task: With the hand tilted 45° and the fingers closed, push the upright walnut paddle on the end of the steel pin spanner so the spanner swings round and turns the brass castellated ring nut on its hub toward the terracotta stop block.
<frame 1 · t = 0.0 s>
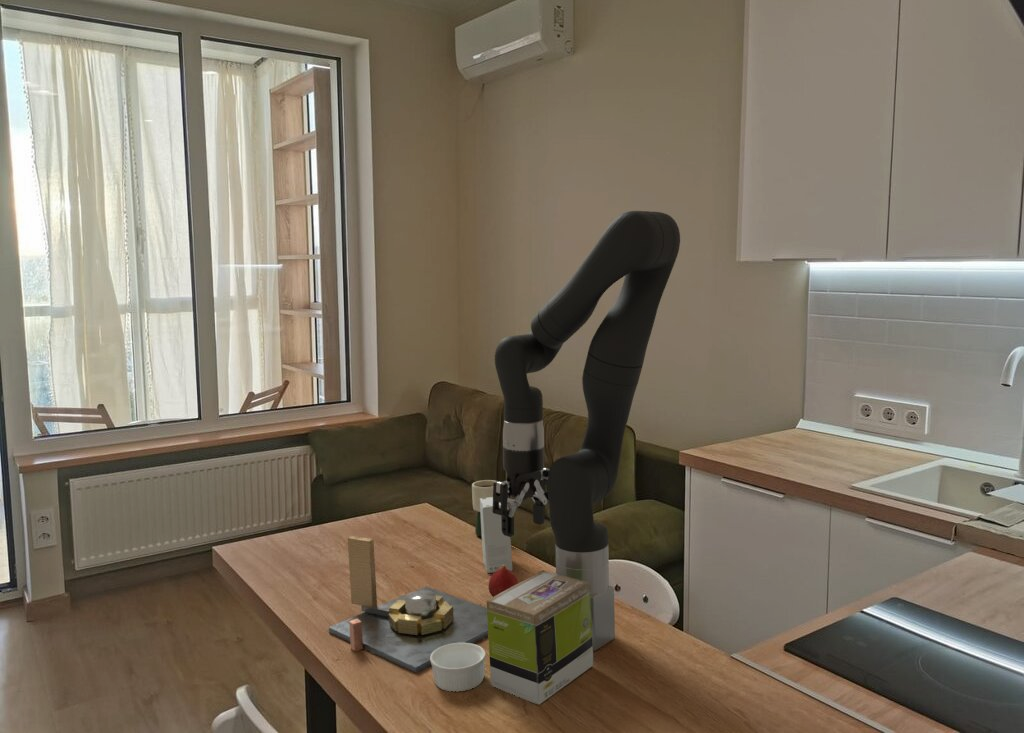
hand: (523, 529, 149), 17 cm above the table, tool pointing down, fingers open, 8 cm apart
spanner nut: (403, 578, 150), point 8 cm above the table, hinge at 0.0°
hub base: (421, 627, 148), on the table
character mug: (488, 535, 199), on the table
ramekin: (459, 681, 129), on the table
onion: (504, 605, 158), on the table
tea box: (542, 678, 129), on the table
skincare box: (496, 566, 178), on the table
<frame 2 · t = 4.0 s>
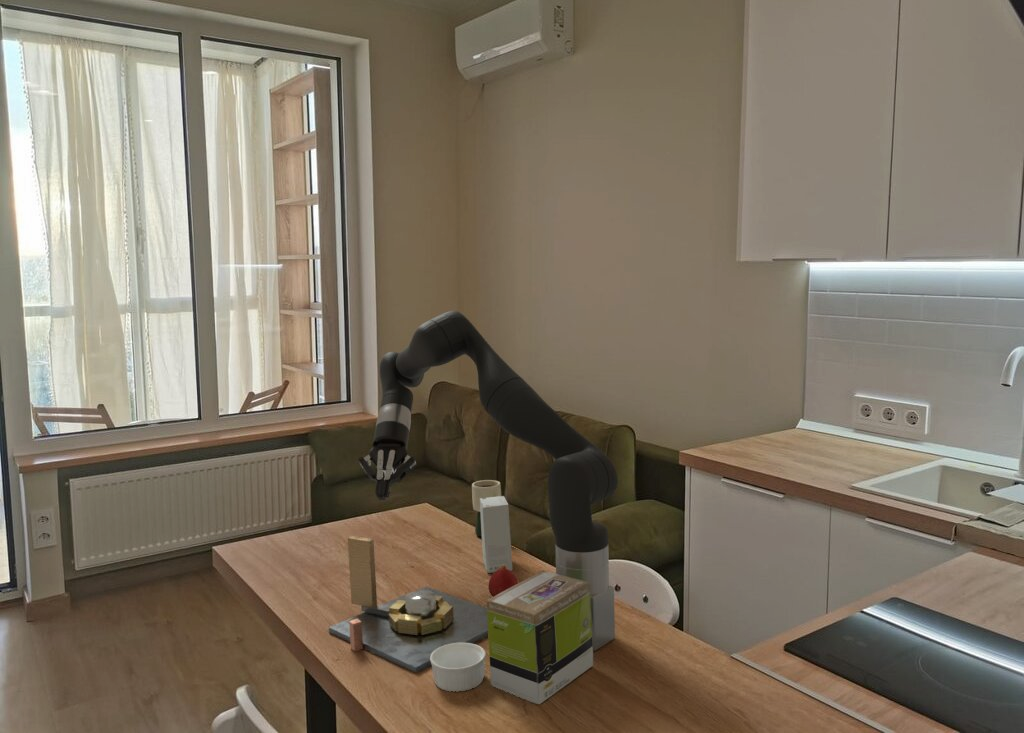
hand: (381, 498, 169), 18 cm above the table, tool tilted 45°, fingers closed
nothing on the table moved.
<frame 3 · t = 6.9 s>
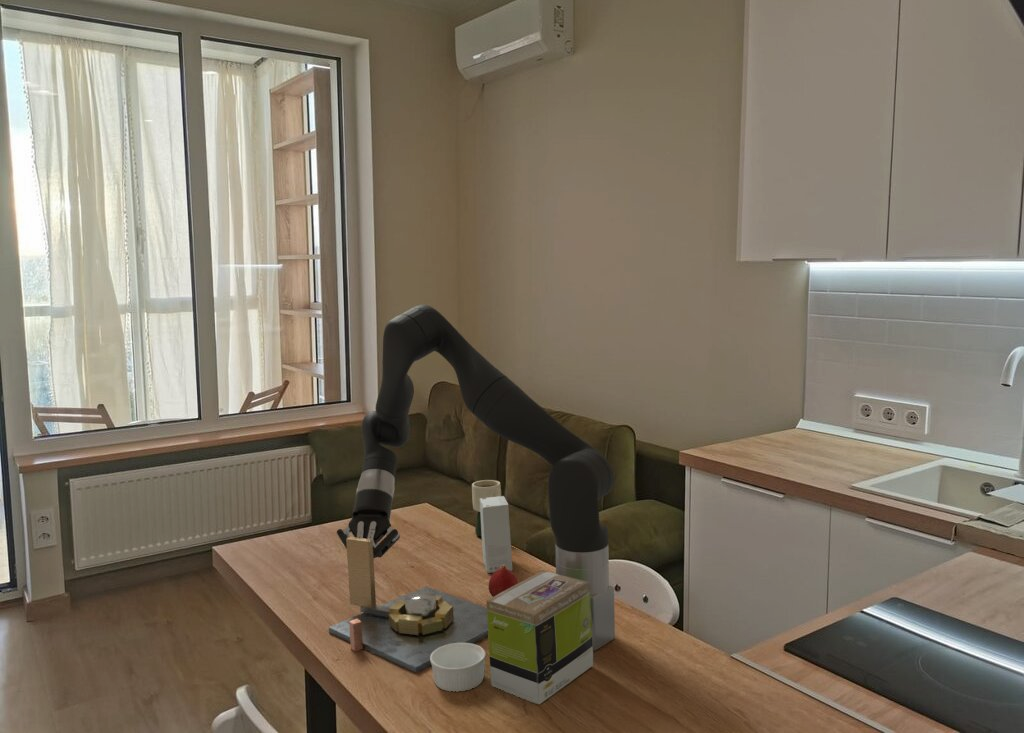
hand: (361, 576, 155), 7 cm above the table, tool tilted 45°, fingers closed
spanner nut: (402, 578, 150), point 8 cm above the table, hinge at 1.6°, touching gripper
everything else where it was.
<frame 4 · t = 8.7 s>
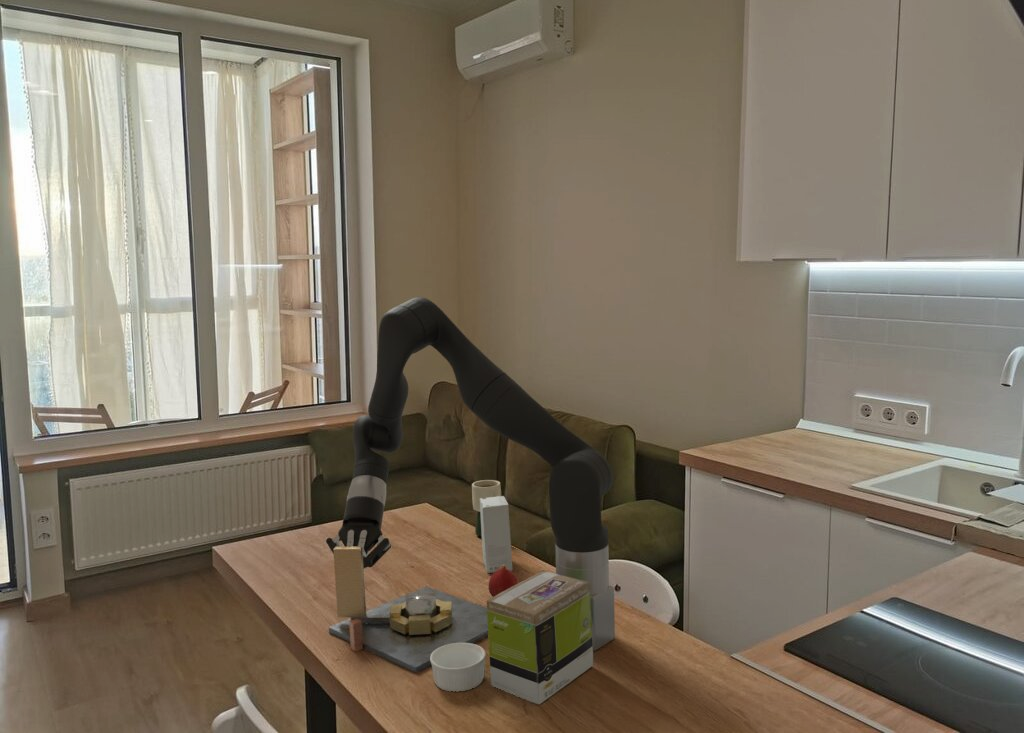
hand: (351, 587, 150), 7 cm above the table, tool tilted 45°, fingers closed
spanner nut: (397, 581, 149), point 8 cm above the table, hinge at 22.9°, touching gripper
everything else where it was.
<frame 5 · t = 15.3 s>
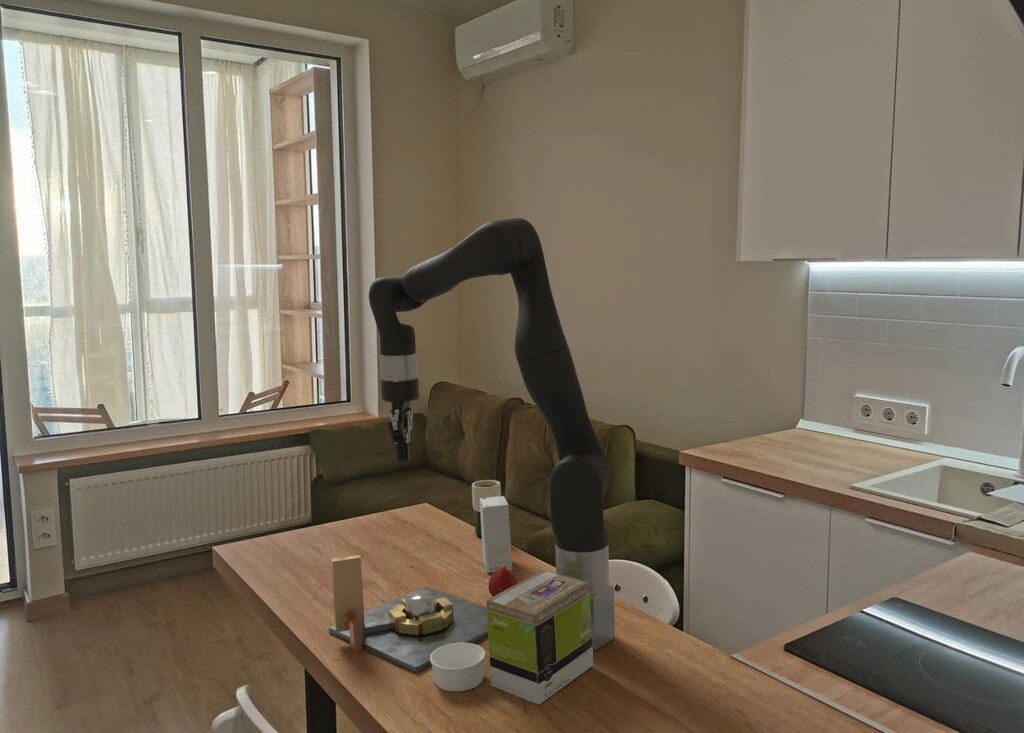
hand: (403, 460, 164), 27 cm above the table, tool pointing down, fingers closed
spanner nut: (394, 585, 147), point 8 cm above the table, hinge at 46.9°
everything else where it was.
at the end: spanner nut at +47° (first picture: +0°); the gripper is holding nothing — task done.
